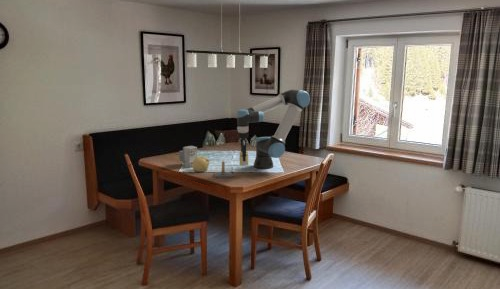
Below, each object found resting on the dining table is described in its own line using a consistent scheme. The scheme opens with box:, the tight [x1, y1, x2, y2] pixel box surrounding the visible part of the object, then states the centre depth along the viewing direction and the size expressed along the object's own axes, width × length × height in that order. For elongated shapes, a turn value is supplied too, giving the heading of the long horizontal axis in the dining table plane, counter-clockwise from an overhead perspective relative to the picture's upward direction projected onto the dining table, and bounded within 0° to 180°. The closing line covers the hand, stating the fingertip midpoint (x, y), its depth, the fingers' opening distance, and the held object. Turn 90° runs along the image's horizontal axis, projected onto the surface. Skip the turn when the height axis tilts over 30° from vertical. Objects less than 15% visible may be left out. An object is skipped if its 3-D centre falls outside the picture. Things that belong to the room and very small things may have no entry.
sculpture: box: [192, 156, 210, 173], centre depth 282 cm, size 12×12×11 cm
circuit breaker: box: [178, 145, 198, 169], centre depth 296 cm, size 8×14×15 cm, turn 51°
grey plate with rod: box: [214, 161, 233, 179], centre depth 270 cm, size 12×10×10 cm
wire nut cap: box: [238, 151, 249, 167], centre depth 271 cm, size 6×6×8 cm
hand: (243, 164), depth 272 cm, fingers closed on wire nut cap, 6 cm apart
